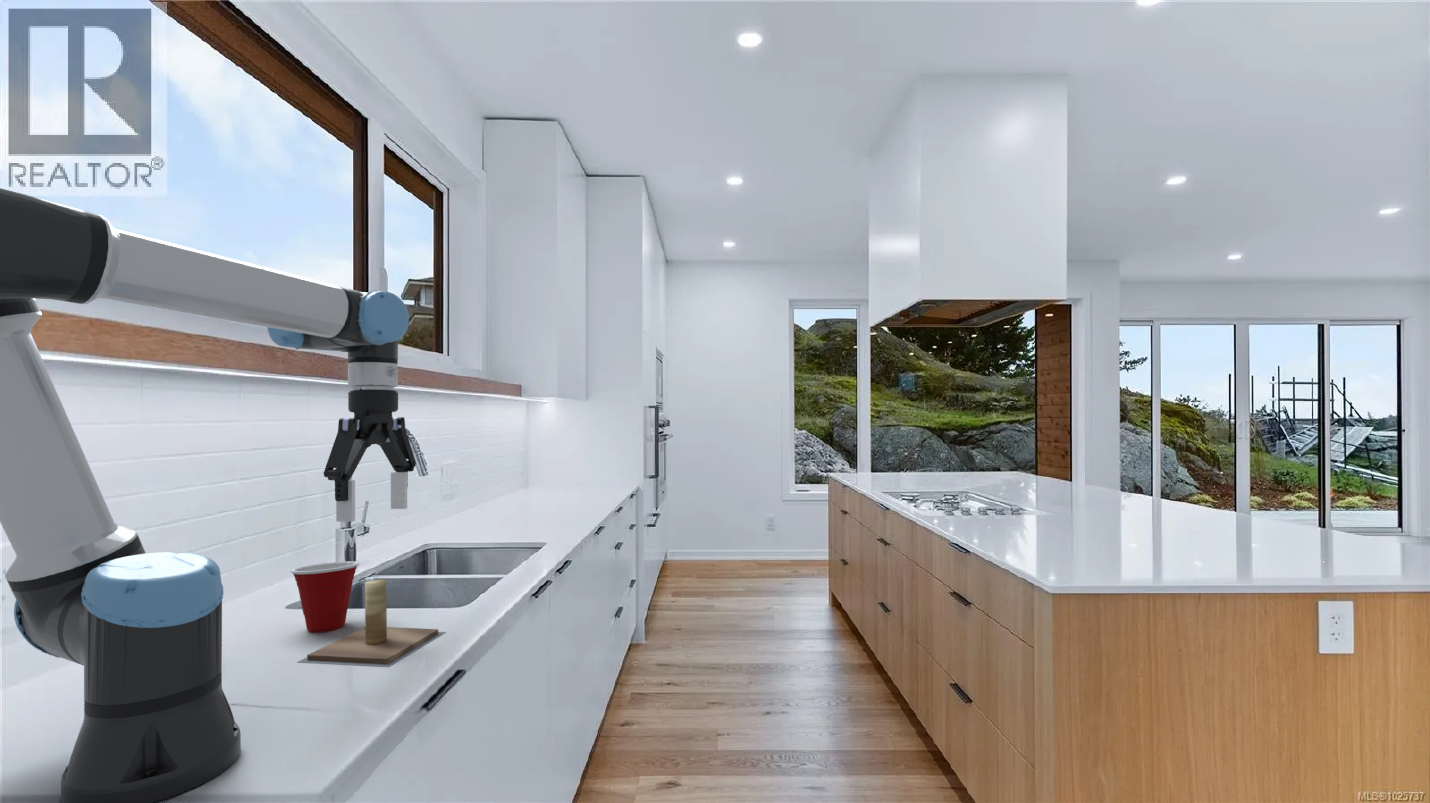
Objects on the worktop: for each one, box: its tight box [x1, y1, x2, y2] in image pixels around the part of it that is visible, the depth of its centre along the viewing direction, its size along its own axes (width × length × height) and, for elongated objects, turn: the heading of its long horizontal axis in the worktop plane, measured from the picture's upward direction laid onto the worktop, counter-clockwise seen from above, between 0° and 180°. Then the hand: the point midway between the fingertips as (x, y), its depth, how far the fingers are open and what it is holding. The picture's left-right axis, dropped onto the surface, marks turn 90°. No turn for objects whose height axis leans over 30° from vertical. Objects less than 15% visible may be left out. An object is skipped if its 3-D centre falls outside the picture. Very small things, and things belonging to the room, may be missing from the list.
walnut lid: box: [306, 578, 439, 664], centre depth 111 cm, size 14×14×11 cm
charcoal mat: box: [296, 631, 447, 668], centre depth 110 cm, size 16×16×1 cm
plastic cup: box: [290, 560, 360, 634], centre depth 121 cm, size 11×11×12 cm
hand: (374, 514), depth 111 cm, fingers open, 13 cm apart
